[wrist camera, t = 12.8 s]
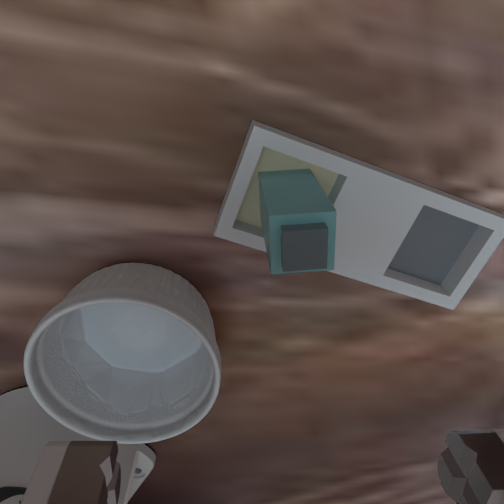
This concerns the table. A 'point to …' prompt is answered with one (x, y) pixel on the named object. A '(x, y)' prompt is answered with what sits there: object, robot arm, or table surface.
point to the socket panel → (370, 219)
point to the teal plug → (296, 222)
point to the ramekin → (126, 356)
